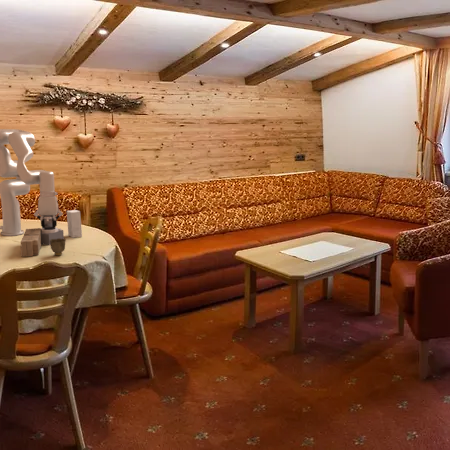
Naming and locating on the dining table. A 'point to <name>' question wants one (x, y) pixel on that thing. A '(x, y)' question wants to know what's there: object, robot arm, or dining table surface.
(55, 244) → the cup
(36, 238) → the block tower
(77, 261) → the dining table surface
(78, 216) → the skincare box
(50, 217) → the lens
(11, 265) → the dining table surface
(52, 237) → the camera body
